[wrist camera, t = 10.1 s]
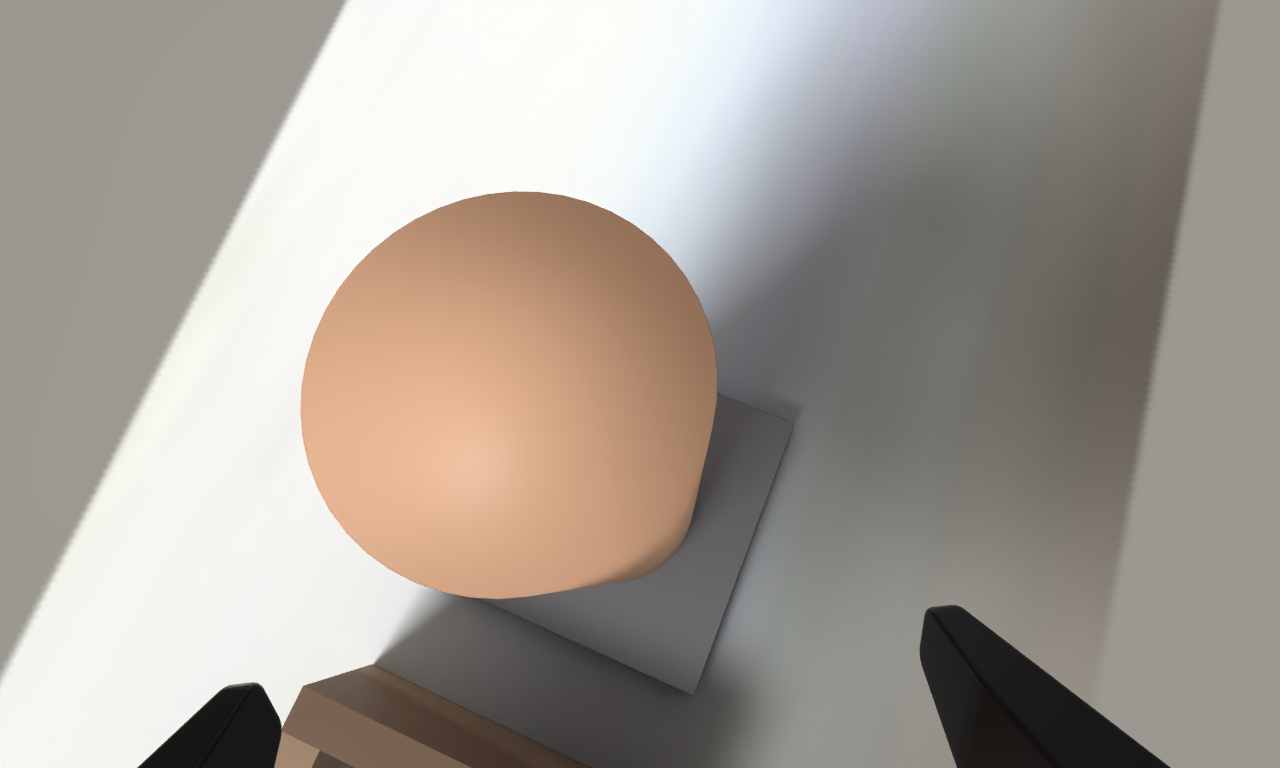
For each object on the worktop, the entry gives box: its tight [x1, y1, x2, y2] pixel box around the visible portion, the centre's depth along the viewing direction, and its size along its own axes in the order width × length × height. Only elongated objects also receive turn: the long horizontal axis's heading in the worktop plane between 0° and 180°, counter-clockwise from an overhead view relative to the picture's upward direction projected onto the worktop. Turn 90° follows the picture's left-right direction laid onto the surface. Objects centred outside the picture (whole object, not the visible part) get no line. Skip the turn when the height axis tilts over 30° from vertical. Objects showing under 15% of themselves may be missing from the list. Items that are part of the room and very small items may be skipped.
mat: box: [478, 394, 794, 695], centre depth 20 cm, size 8×8×1 cm
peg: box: [300, 192, 717, 599], centre depth 14 cm, size 4×4×13 cm
